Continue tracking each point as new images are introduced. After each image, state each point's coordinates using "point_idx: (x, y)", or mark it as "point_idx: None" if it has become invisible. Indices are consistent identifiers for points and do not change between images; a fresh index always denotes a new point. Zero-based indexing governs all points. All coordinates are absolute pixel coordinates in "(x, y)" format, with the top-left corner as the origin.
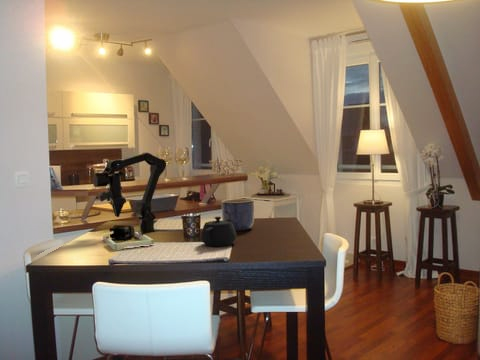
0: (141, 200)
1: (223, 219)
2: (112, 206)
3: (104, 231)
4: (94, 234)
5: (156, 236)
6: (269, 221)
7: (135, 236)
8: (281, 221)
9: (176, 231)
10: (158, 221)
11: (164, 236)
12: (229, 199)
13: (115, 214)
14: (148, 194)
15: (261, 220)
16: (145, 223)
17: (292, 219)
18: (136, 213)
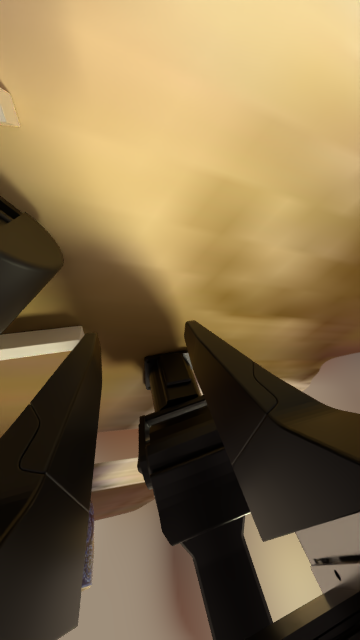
0: (240, 530)
1: None
2: (272, 407)
3: (336, 214)
4: (317, 115)
5: (23, 393)
6: (122, 503)
7: (55, 329)
8: (110, 511)
9: (107, 427)
10: (303, 386)
11: (9, 412)
12: (86, 587)
13: (190, 334)
14: (209, 622)
15: (141, 496)
16: (157, 397)
17: (120, 514)
18: (203, 422)
